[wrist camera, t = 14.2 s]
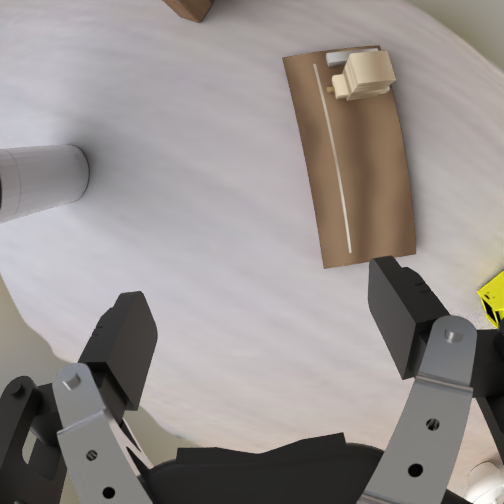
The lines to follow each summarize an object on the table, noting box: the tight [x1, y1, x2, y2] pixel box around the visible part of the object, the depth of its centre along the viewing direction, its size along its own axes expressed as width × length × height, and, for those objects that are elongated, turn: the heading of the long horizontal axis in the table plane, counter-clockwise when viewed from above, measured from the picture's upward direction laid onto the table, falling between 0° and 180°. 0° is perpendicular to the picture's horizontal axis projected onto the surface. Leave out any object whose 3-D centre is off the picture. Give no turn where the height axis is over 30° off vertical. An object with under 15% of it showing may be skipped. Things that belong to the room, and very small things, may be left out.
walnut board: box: [282, 46, 416, 269], centre depth 34 cm, size 12×26×4 cm, turn 12°
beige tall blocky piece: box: [327, 50, 396, 101], centre depth 28 cm, size 7×3×9 cm, turn 102°
